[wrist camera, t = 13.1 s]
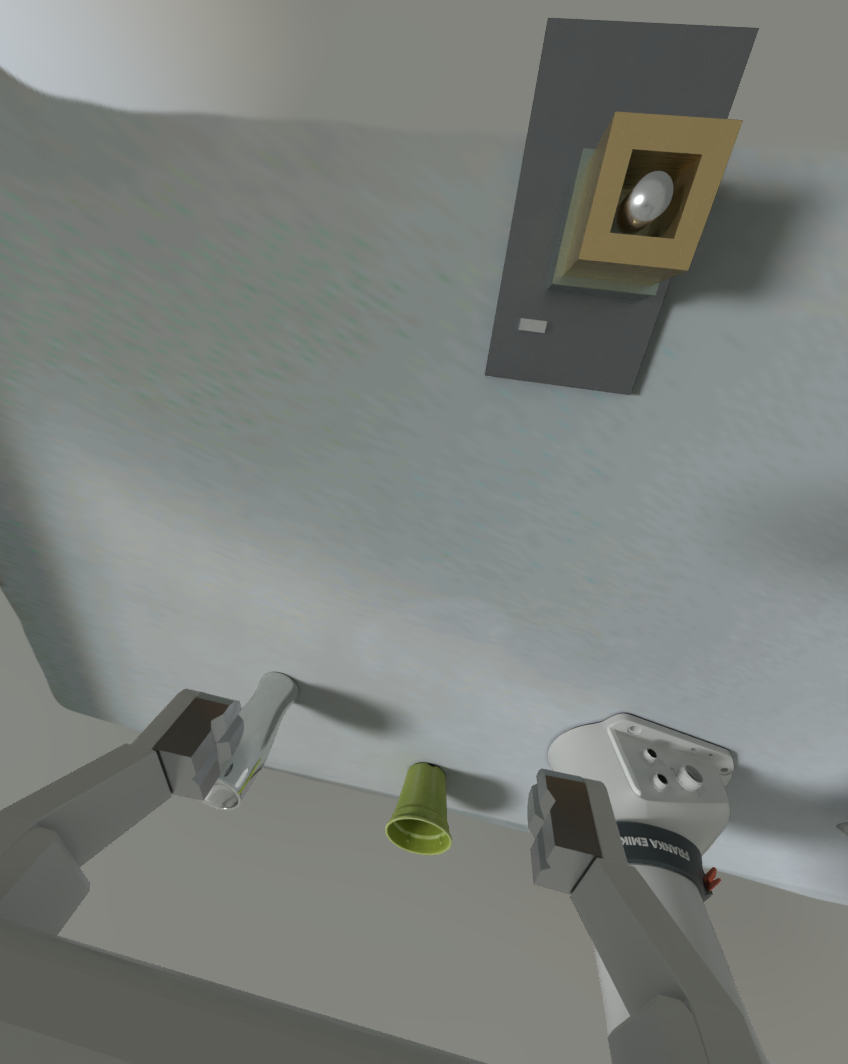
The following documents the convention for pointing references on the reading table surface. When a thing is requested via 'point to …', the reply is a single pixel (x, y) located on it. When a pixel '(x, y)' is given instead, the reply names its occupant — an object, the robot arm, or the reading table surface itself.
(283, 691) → the beer glass
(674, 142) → the tan square sleeve
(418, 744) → the reading table surface
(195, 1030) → the robot arm
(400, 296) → the reading table surface
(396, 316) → the reading table surface
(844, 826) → the grey chunky knobbed piece
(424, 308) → the reading table surface
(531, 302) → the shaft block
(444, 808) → the plant pot
